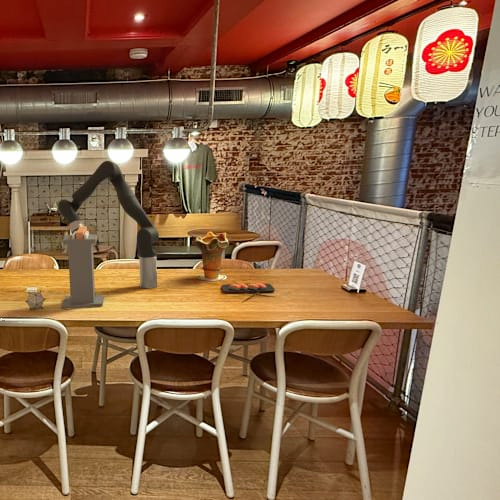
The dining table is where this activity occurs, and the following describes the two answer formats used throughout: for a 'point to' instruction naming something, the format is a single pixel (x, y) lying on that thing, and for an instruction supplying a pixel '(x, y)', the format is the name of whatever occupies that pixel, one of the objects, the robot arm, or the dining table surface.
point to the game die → (35, 300)
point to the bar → (81, 232)
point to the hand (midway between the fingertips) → (90, 255)
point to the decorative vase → (212, 255)
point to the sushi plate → (248, 288)
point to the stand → (81, 273)
